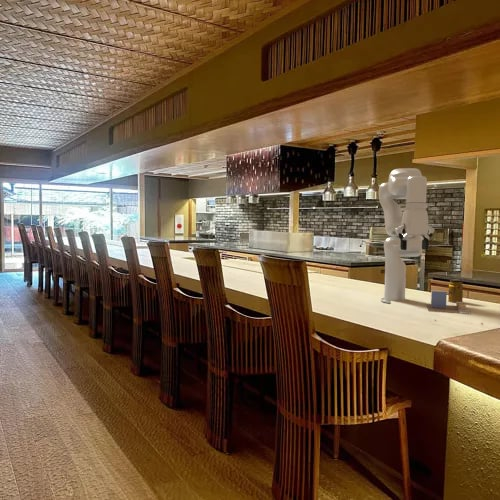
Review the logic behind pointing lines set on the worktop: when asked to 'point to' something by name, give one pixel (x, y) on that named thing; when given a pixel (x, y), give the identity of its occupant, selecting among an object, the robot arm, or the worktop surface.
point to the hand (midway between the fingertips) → (414, 249)
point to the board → (443, 309)
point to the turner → (462, 308)
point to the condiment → (455, 291)
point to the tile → (438, 299)
